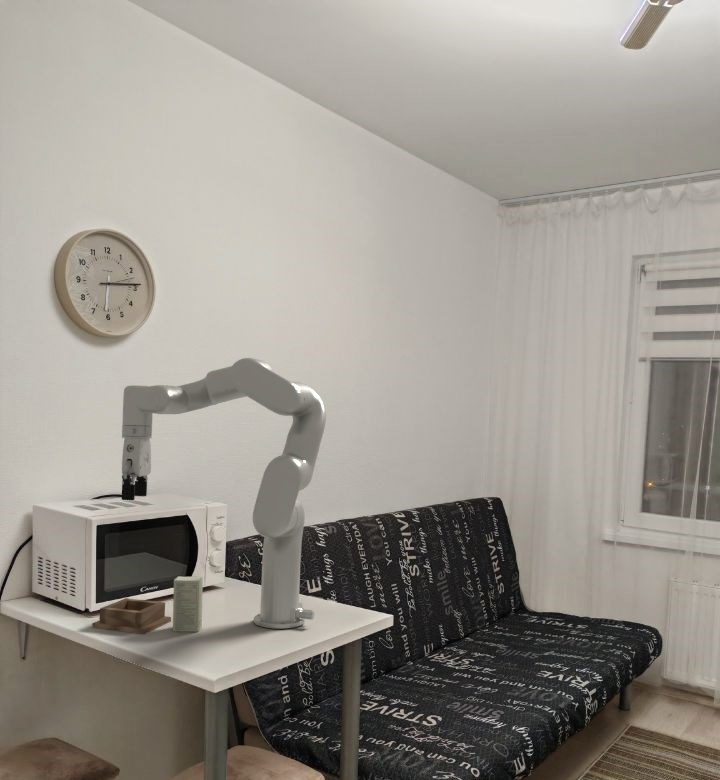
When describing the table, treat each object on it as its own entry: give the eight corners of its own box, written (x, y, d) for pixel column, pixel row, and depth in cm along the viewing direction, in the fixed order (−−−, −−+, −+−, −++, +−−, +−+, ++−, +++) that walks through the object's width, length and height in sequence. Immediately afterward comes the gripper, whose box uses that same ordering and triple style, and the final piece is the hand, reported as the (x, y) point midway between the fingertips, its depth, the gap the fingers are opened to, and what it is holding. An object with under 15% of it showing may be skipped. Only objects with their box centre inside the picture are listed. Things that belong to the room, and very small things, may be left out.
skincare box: (202, 627, 186) (204, 576, 187) (198, 632, 182) (200, 580, 182) (176, 626, 186) (178, 575, 187) (171, 631, 182) (173, 579, 182)
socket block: (170, 621, 191) (171, 602, 191) (145, 633, 179) (145, 614, 179) (120, 615, 194) (121, 597, 195) (92, 627, 183) (93, 608, 183)
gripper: (140, 433, 194) (137, 502, 193) (160, 432, 211) (158, 495, 211) (110, 432, 194) (108, 501, 194) (133, 431, 212) (131, 494, 211)
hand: (134, 498), depth 202 cm, fingers open, 9 cm apart
